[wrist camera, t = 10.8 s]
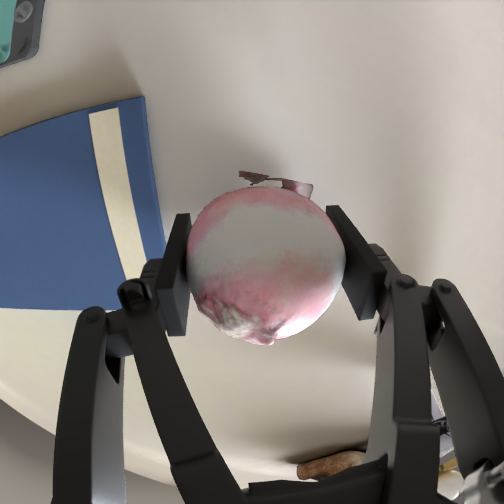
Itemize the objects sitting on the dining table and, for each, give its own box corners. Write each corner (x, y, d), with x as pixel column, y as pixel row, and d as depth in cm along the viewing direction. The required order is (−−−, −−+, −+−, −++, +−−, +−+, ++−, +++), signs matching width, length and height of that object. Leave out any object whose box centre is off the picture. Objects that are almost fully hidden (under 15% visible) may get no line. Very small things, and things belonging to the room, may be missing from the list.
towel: (144, 95, 15) (140, 96, 14) (179, 302, 24) (177, 309, 23) (-66, 170, 14) (-72, 174, 13) (-14, 302, 23) (-18, 307, 22)
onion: (164, 217, 17) (134, 301, 11) (276, 134, 15) (314, 176, 9) (247, 300, 20) (257, 390, 14) (346, 239, 18) (394, 318, 12)
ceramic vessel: (351, 514, 53) (433, 472, 49) (298, 510, 41) (416, 455, 37) (339, 480, 65) (415, 439, 61) (286, 461, 52) (390, 406, 49)
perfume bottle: (410, 365, 33) (462, 493, 17) (371, 377, 33) (417, 515, 17) (421, 338, 30) (487, 480, 13) (379, 350, 30) (438, 508, 13)
